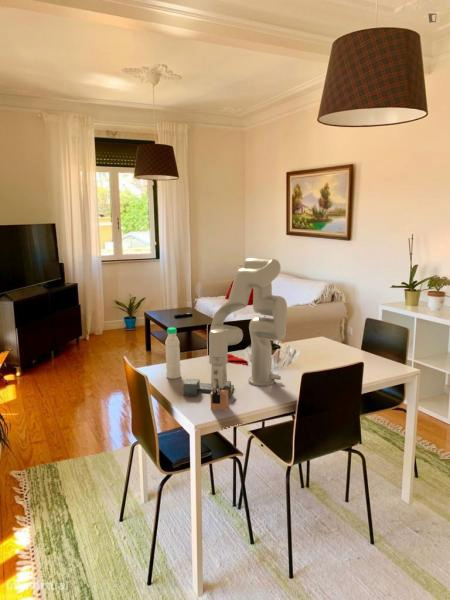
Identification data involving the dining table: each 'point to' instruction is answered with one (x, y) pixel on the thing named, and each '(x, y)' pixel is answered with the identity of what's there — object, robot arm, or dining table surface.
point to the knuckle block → (221, 401)
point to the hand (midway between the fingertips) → (218, 398)
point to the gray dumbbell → (201, 387)
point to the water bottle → (172, 354)
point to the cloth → (233, 358)
